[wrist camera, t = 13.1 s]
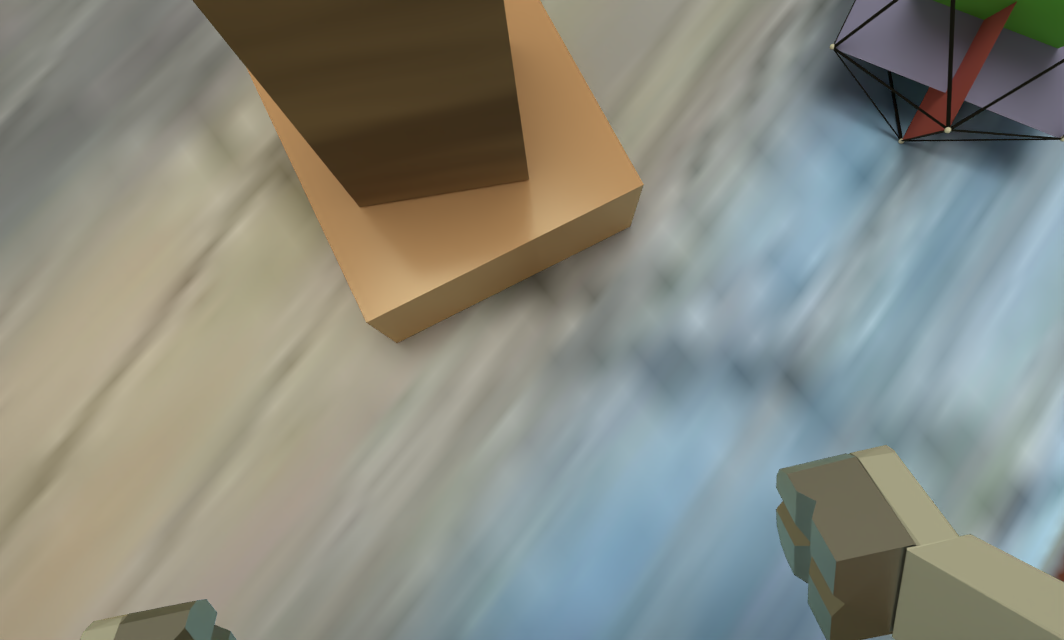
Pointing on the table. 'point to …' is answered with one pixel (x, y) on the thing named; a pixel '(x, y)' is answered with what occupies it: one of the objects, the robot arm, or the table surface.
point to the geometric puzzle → (965, 59)
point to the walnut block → (388, 88)
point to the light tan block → (481, 199)
